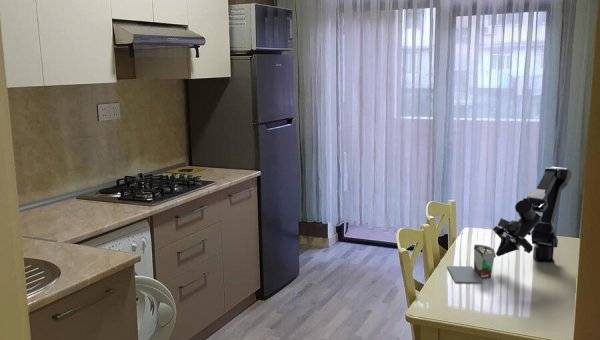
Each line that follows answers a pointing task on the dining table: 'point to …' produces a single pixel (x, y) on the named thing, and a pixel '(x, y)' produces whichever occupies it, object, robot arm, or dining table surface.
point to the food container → (483, 260)
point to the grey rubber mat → (464, 274)
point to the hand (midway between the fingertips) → (496, 255)
